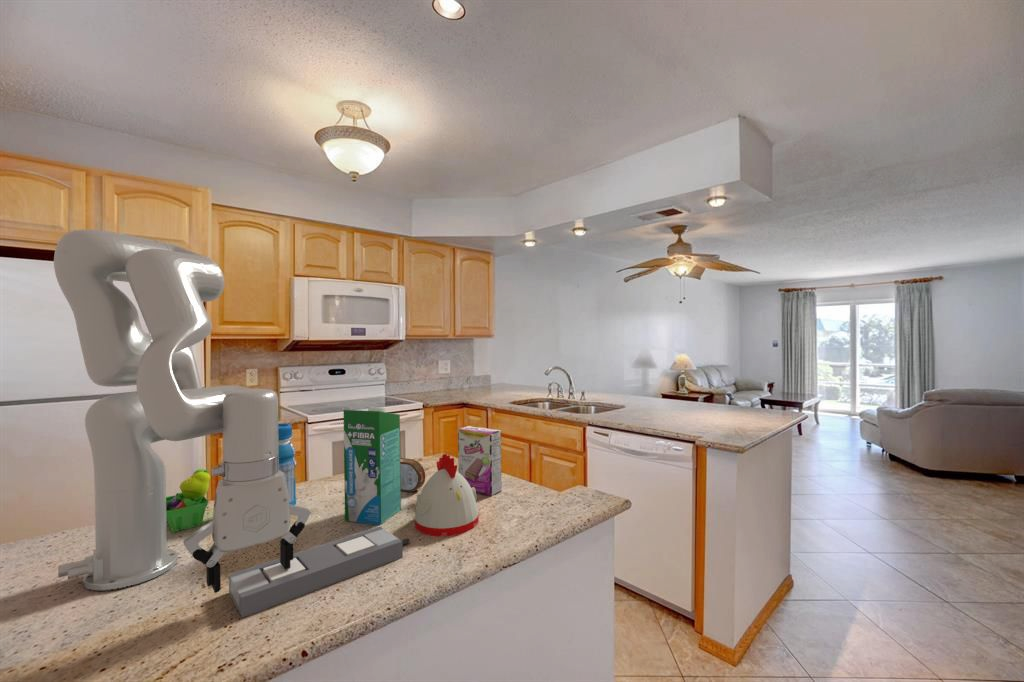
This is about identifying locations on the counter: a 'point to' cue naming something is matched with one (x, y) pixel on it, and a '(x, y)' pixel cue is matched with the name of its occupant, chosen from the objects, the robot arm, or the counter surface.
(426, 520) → the kitchen timer
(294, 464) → the beverage bottle
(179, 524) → the fruit basket
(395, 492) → the milk carton
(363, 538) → the outlet button
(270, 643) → the counter surface
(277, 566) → the outlet button
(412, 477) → the tin
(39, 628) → the counter surface
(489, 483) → the candy bar box
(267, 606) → the power strip
